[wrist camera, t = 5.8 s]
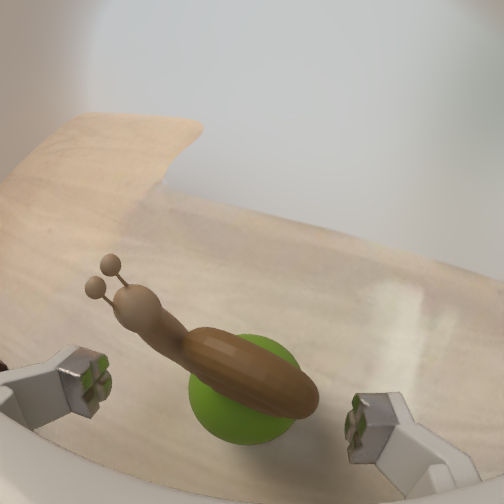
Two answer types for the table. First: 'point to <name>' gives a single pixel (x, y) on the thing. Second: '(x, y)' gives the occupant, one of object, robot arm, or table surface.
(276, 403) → the snail figurine
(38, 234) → the table surface
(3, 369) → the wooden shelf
